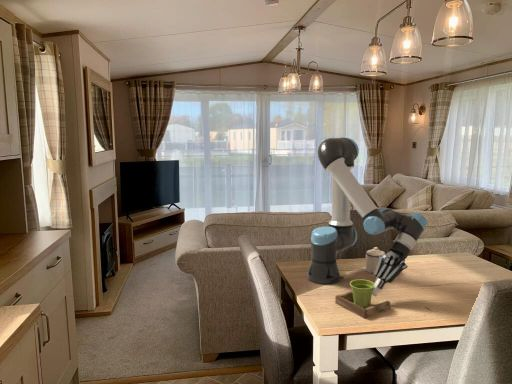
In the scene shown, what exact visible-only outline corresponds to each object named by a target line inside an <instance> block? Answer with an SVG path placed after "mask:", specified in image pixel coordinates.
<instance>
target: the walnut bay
mask: <svg viewBox="0 0 512 384" xmlns="http://www.w3.org/2000/svg"><path fill="white" fill-rule="evenodd" d="M352 300H354V298H353V292H352V290H351V291H348V292H344V293H341V294H338V295H335V300H334V301H335V304H337V305H338V306H340V307H342V308H343V309H346V310H347V311H349V312H351V313H353V314H354V315H357V316H360V317H361V318H363V319H366V318H370V317H373V316H375V315H378V314H380V313H384V312H386V311H389V310H390V309H391V301H389V300H386V301H384V302H380V303H376V304H374V305H370V306H369V307H364V308H362V307H360V306H358V305H356V304H354V302H352Z"/></svg>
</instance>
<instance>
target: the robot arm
mask: <svg viewBox="0 0 512 384" xmlns="http://www.w3.org/2000/svg"><path fill="white" fill-rule="evenodd" d="M359 152H360V149H359V145H358V144H357V142H355V140H354V139H352V138H350V137H329V138H326V139H324V140H323V141H322V142H320V144H319V146H318V148H317V157H318V161H319V162H320V164H321V167H323V169H324V170H325V172H327V173H330V175H331V183H332V184H331V219H330V220H329V221H328V226H325V225H324V226H319V227H316V228H314V229H313V230H312V232H311V237H310V241H311V242H310V243H311V244H310V248H311V249H310V250H311V251H310V253H311V254H310V264H309V266H308V268H307V269H308V270H307V273H306V274H307V275H306V278H307V279H308V280H309V282H311V283H316V284H322V285H325V284H326V285H331V284H335V283H338V282H339V281H340V280H341V272H340V269H339V267H338V263H337V261H338V260H337V259H338V258H337V257H338V255H337V254H338V253H340V252H342V251H345V250H348V249H350V248H351V247H353V246H354V245H355V243H357V240H358V232H357V230H356V229H355V227H354V222H353V221H352V220H351V204H352V206H353V208H355V210H356V211H357V214H358V215H359V216H360V217H361V218H362V220H363V224H362V225H363V229H364V232H366V233H367V234H369V235H372V236H375V235H379V234H382V233H384V232H387V231H389V230H395V231H397V232H398V235H397V236H396V238H395V239H394V241H393V242H392V243H391V245H390V247H389V249H388V252H386V253H385V255H383V256H382V255H379V262H378V264H377V267H376V270H375V272H374V273H373V275H374V277H375V279H374V281H373V283H374V284H375V286H374V288H373V291H372V296H374V297H376V296H377V295H378V293H379V292H380V290H382V289H383V288H384V286H385V285H386V284H387V283H388V284H392V282H394V280H395V279H396V278H397V277H398V276H399V275H400V274H401V273H402V272H403V271H404V270H406V269H408V265H407V263H406V262H405V261H406V259H407V258H408V257H409V256H410V253H411V251H412V249H413V248H414V247H415V245H416V243H417V241H418V240H419V238H420V237H421V236H422V234H423V232H424V231H425V228H426V227H427V225H428V220H427V218H426V216H424V215H423V214H421V213H419V212H412V213H410V215H406V214H403V213H401V212H399V211H396V210H394V209H392V208H387V207H385V206H384V207H381V208H380V209H379V208H378V207H377V205H376V204H375V203H374V201H373V200H372V199H371V198H370V196H369V194H368V193H367V192H366V190H365V188H363V186H362V185H361V184H360V182H359V181H358V179H357V178H356V177H355V175H354V174H353V172H352V171H351V170H352V169H353V168H355V160H356V159H357V158H358V156H359ZM384 262H385V264H384Z"/></svg>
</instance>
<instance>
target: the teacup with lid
mask: <svg viewBox="0 0 512 384" xmlns="http://www.w3.org/2000/svg"><path fill="white" fill-rule="evenodd" d="M379 255H382V256H383V255H386V253H385V251H383V250H380V249H379V247H377V246H375V247H373V248H372V249H368V250H367V251H366V252H365V260H366V261H365V271H367V272H368V273H372V274H374V272H375V270H376V267H377V264H378V262H379ZM384 264H385V262H384Z"/></svg>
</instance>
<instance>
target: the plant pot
mask: <svg viewBox="0 0 512 384" xmlns="http://www.w3.org/2000/svg"><path fill="white" fill-rule="evenodd" d="M349 286H350V288H351V291H352V292H353V298H354V299H353V303H354V304H356V305H358V306H360V307H362V308H364V309H365V308H368V307H371V304H372V298H373V297H372V296H373V295H372V291H373V288H374V286H375V284H374V281H371V280H367V279H363V278H362V279H360V278H359V279H353V280H351V281H349Z"/></svg>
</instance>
